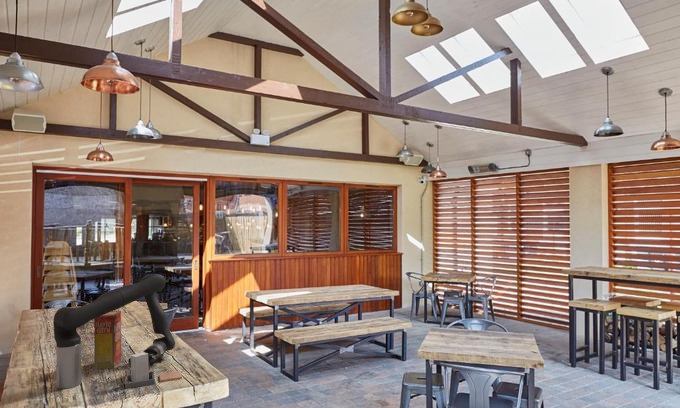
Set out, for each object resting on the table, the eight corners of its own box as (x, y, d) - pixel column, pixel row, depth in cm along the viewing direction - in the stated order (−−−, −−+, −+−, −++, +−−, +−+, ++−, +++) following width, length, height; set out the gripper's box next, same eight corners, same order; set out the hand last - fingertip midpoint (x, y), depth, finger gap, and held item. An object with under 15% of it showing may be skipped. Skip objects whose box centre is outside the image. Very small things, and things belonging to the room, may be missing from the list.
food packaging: (114, 368, 226) (113, 315, 227) (93, 369, 225) (92, 316, 225) (122, 359, 239) (121, 310, 240) (102, 361, 238) (101, 311, 238)
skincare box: (144, 379, 209) (143, 351, 209) (149, 381, 206) (148, 353, 207) (130, 383, 204) (130, 355, 205) (135, 385, 202) (135, 356, 202)
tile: (160, 382, 205) (160, 380, 205) (159, 375, 213) (159, 374, 213) (182, 378, 208) (182, 376, 208) (180, 372, 216) (180, 370, 216)
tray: (125, 388, 198) (125, 383, 198) (125, 380, 209) (125, 375, 209) (154, 383, 202) (154, 379, 203) (153, 375, 213) (153, 371, 213)
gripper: (137, 346, 223) (123, 356, 207) (168, 344, 224) (157, 354, 207) (137, 362, 223) (124, 373, 206) (168, 360, 223) (157, 372, 207)
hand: (140, 364), depth 207 cm, fingers open, 8 cm apart
